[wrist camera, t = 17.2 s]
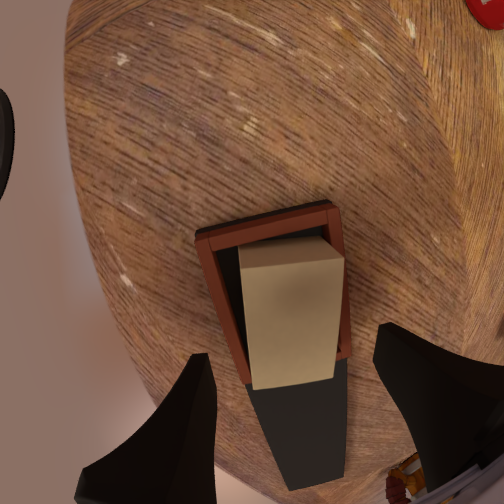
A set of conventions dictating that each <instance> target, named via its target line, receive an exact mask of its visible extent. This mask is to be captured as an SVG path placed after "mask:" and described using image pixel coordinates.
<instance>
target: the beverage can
mask: <svg viewBox="0 0 504 504" xmlns="http://www.w3.org/2000/svg"><path fill="white" fill-rule="evenodd" d="M465 2H466V4H467V6H468V8H469V10H470V12H471V13H472V15H473V16H474V17H475V19H476V20H477V21H478V22H479V23H480V24H481V25H482V26H483V27H485V28H487V29H494V30H501V29H504V0H465Z"/></svg>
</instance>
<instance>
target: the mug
mask: <svg viewBox="0 0 504 504" xmlns="http://www.w3.org/2000/svg"><path fill="white" fill-rule="evenodd" d="M388 476H389V477H387V479H386V488H387V489H385V491H386V499H388V501H389V503H390V504H408V503H410V502H412V501H414V500H416V499H418V498H420V497H422V496H424V495H426V494H428V493H427V490H426V483H425V479H424V474H423V469H422V466H421V462H420V459H419V455H418V452H417V453H416V454H414V455H413V456H412V457H410V458H409V459H408V460H406V461H405V462H404V463H403V464H402V465H401V466H400V467H399V468H398V469H397V468H395V469H391V470H390V471H389V472H388ZM405 488H408V490H409V492H410V493H411V495H412V497H411V500H410V499H408V498H406V494H405V493H406V490H405ZM452 498H453V497H451V498H449V499H448V500H446V501H444V502H443V503H441V504H446V503H447V502H449V501H450V500H452Z"/></svg>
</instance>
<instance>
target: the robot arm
mask: <svg viewBox="0 0 504 504" xmlns="http://www.w3.org/2000/svg"><path fill="white" fill-rule="evenodd" d="M373 363H374V365H375V368H376V370H377V372H378V374H379V377H380V379H381V381H382V382H383V384H384V386H385V387H386V389H387V390H388V392H389V394H390V395H391V397H392V399H393V400H394V402H395V404H396V405H397V407H398V408H399V410H400V412H401V413H402V415H403V417H404V419H405V421H406V423H407V426H408V428H409V430H410V433H411V435H412V438H413V441H414V443H415V446H416V449H417V452H418V455H419V459H420V462H421V466H422V469H423V474H424V479H425V483H426V490H427V493H428V494H426V495H424V496H422V497H420V498H418V499H416V500H414V501H412V502H410V503H408V504H441V503H443V502H444V501H446V500H448V499H449V498H451V497H453V498H452V500H451V501H449V502H448V503H446V504H504V366H501V365H494V364H488V363H484V362H480V361H476V360H472V359H469V358H466V357H463V356H460V355H457V354H455V353H452V352H450V351H447V350H445V349H443V348H441V347H439V346H436V345H434V344H432V343H430V342H428V341H426V340H425V339H423V338H421V337H419V336H417V335H415V334H413V333H411V332H410V331H408V330H406V329H404V328H402V327H400V326H398V325H396V324H394V323H392V322H389V323H385V324H381V325H379V327H378V334H377V339H376V345H375V350H374V355H373ZM216 420H217V388H216V384H215V380H214V376H213V372H212V369H211V365H210V361H209V357H208V353H198V354H192V355H191V356H190V358H189V360H188V362H187V364H186V366H185V367H184V369H183V371H182V373H181V374H180V376H179V378H178V379H177V381H176V382H175V384H174V386H173V387H172V389H171V390H170V392H169V393H168V395H167V396H166V397H165V399H164V400H163V401H162V403H161V404H160V406H159V407H158V408H157V409H156V411H155V412H154V413H153V414H152V415H151V417H150V418H149V419H148V420H147V421H146V422H145V423H144V424H143V425H142V426H141V427H140V428H139V429H138V430H137V431H136V432H135V433H134V434H133V435H132V436H131V437H130V438H128V439H127V440H126V441H125V442H124V443H122V444H121V445H120V446H118V447H117V448H116V449H115V450H113V451H112V452H110V453H109V454H107V455H106V456H104V457H103V458H101V459H100V460H98V461H96V462H94V463H93V464H91V465H89V466H87V467H85V468H83V470H82V472H81V475H80V478H79V481H78V485H77V488H76V492H75V496H74V500H75V501H76V502H77V504H217V500H216V489H215V475H214V446H215V433H216Z"/></svg>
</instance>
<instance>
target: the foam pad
mask: <svg viewBox="0 0 504 504" xmlns="http://www.w3.org/2000/svg"><path fill="white" fill-rule="evenodd" d="M238 252H239V263H240V273H241V283H242V293H243V303H244V313H245V323H246V332H247V342H248V351H249V360H250V368H251V377H252V385H253V390H258V389H267V388H275V387H282V386H289V385H296V384H302V383H308V382H313V381H319V380H324V379H329V378H333V374H334V367H335V360H336V352H337V344H338V335H339V325H340V315H341V304H342V291H343V275H344V257H343V256H342V255H341V254H339V253H338V252H337V251H336V250H335V249H334V248H333V247H332V246H331V245H330V244H328V243H327V242H326V241H325V240H324V239H323V238H322V237H321V236H311V237H299V238H288V239H277V240H266V241H256V242H249V243H245V244H241V245H238Z"/></svg>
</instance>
